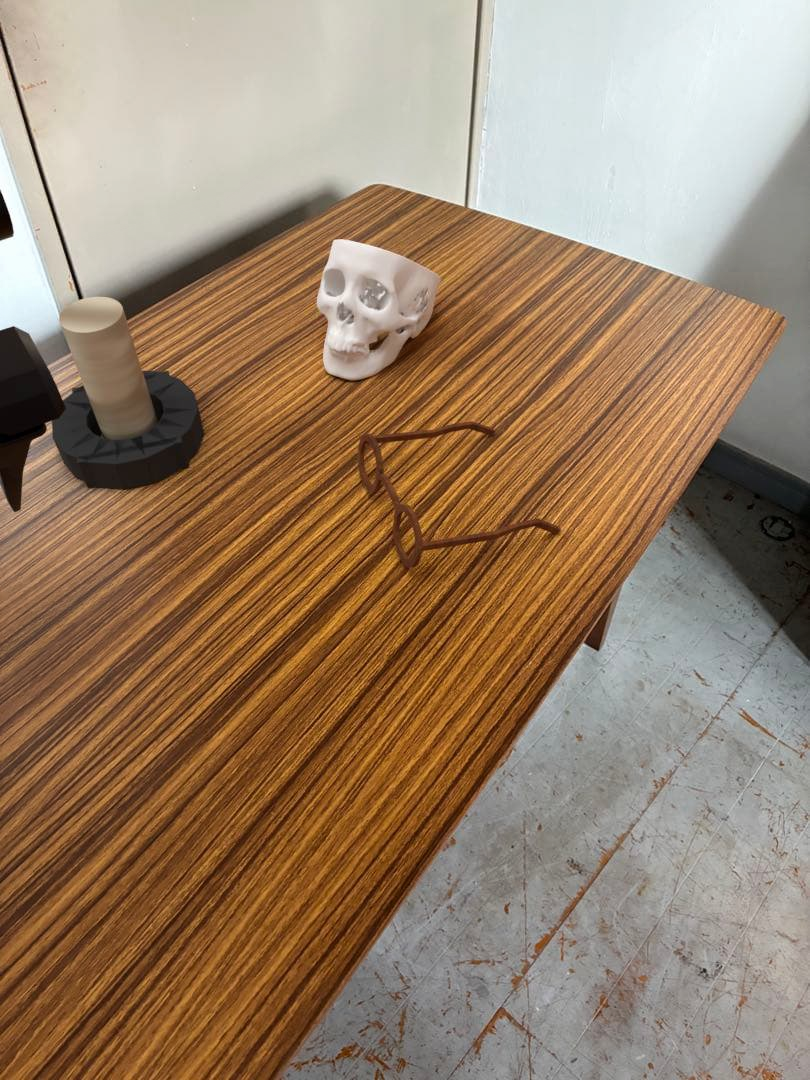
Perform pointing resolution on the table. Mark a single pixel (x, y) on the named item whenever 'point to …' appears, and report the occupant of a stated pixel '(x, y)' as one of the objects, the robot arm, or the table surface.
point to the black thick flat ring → (134, 456)
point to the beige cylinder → (108, 366)
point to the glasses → (409, 511)
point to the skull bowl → (371, 306)
